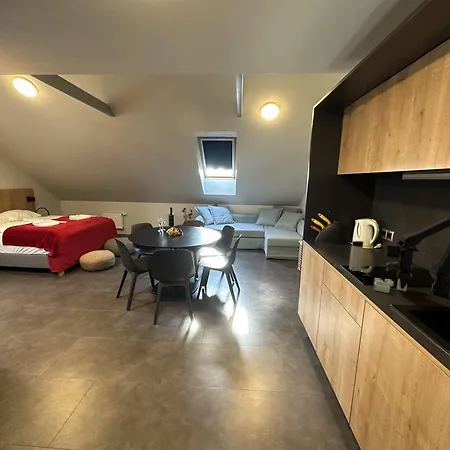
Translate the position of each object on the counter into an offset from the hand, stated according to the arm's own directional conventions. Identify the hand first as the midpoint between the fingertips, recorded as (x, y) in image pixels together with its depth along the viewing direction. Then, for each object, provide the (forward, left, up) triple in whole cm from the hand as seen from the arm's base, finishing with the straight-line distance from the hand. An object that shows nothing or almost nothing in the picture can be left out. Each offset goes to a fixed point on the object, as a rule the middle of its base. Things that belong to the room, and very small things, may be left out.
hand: (401, 287), depth 142 cm
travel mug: (+25, -18, -2) cm, 31 cm away
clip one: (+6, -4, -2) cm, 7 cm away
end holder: (+9, +6, -2) cm, 11 cm away
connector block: (0, 0, -1) cm, 1 cm away
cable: (+9, -3, -2) cm, 9 cm away
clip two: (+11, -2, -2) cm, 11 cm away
